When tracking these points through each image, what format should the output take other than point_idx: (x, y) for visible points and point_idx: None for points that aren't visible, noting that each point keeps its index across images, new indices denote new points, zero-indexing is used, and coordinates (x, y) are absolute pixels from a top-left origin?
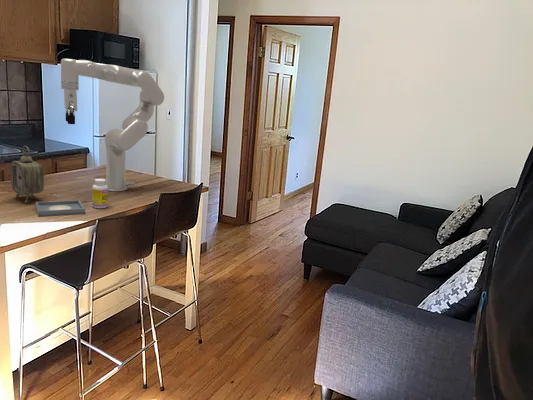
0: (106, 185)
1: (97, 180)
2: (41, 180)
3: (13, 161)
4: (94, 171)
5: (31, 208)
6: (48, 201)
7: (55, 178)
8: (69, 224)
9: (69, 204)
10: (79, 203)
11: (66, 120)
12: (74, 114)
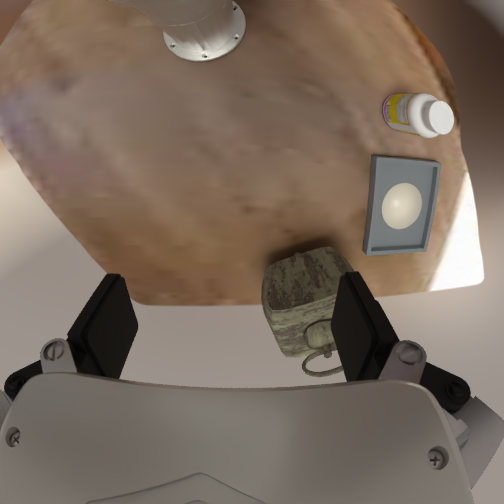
0: (433, 98)
1: (447, 129)
2: (350, 266)
3: (304, 355)
4: (11, 107)
5: (370, 257)
6: (370, 230)
7: (81, 200)
8: (470, 202)
9: (380, 181)
10: (401, 163)
11: (135, 328)
12: (423, 354)
